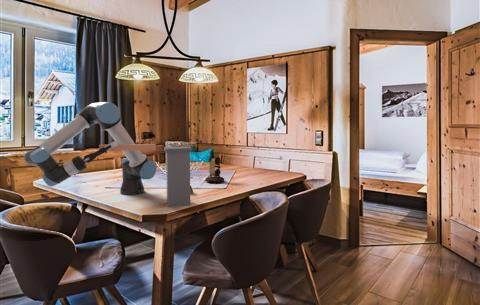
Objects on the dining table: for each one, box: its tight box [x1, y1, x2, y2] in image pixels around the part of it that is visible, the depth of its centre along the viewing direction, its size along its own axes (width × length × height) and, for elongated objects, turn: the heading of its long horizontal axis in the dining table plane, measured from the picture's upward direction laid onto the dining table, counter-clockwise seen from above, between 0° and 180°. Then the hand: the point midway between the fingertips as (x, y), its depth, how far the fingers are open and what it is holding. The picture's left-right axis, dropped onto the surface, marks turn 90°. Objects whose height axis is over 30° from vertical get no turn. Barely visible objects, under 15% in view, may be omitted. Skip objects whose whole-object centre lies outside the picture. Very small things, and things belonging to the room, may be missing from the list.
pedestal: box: [163, 146, 193, 208], centre depth 176 cm, size 12×14×32 cm
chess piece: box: [205, 155, 225, 184], centre depth 242 cm, size 15×15×20 cm
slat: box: [98, 143, 157, 152], centre depth 167 cm, size 4×28×3 cm, turn 107°
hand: (117, 142), depth 165 cm, fingers closed on slat, 4 cm apart
